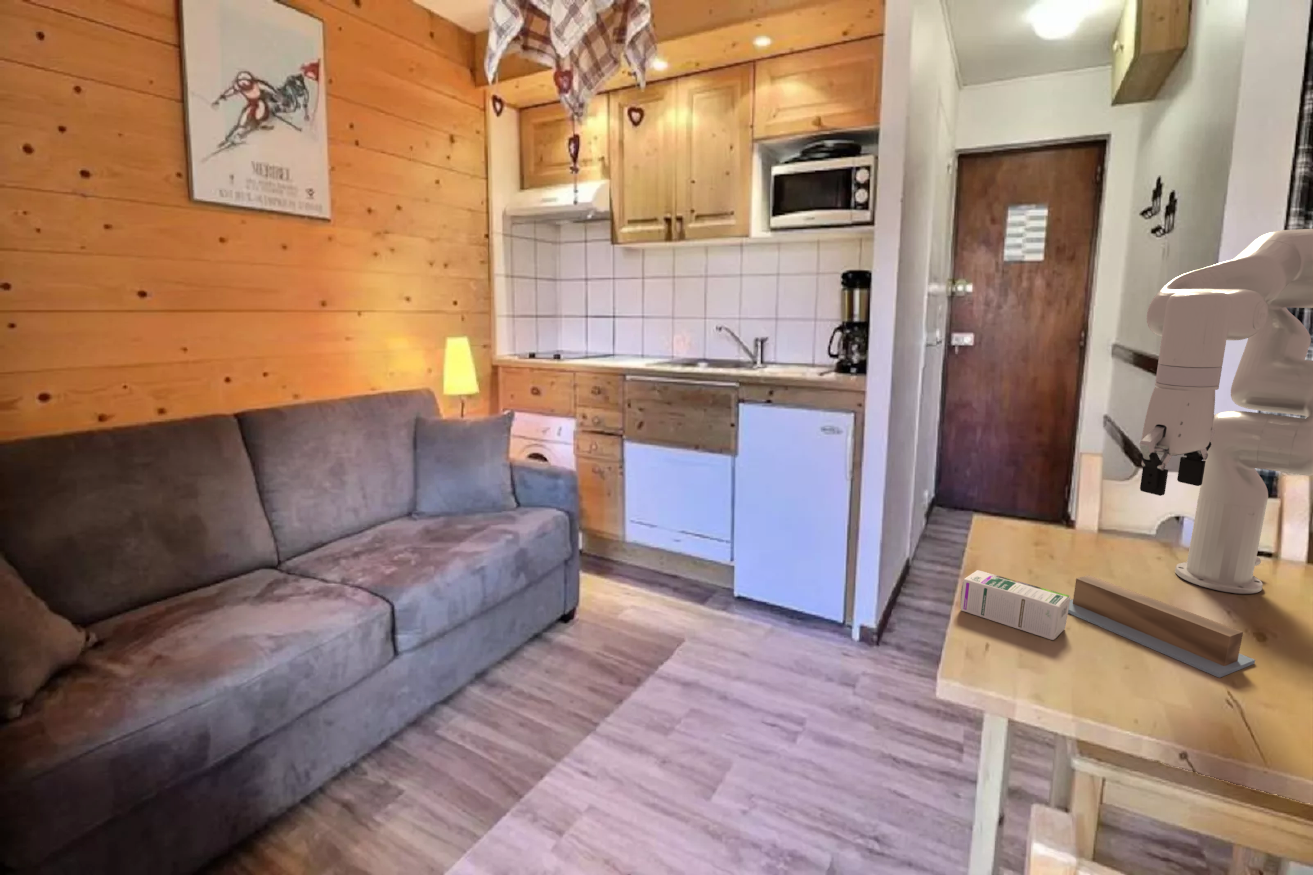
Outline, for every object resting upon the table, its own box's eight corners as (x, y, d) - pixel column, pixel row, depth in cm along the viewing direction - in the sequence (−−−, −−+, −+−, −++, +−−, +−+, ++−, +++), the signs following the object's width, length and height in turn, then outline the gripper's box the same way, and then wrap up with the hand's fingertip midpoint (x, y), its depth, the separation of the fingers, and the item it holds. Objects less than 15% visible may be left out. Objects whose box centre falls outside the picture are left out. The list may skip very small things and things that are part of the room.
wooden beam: (1085, 600, 117) (1089, 575, 116) (1237, 661, 97) (1243, 631, 97) (1072, 603, 115) (1076, 578, 115) (1224, 666, 96) (1229, 636, 95)
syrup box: (1059, 606, 103) (962, 576, 113) (1054, 642, 104) (958, 609, 114) (1071, 595, 106) (976, 567, 117) (1065, 630, 108) (972, 599, 118)
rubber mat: (1088, 597, 119) (1089, 594, 119) (1254, 663, 98) (1255, 659, 98) (1054, 607, 115) (1055, 603, 115) (1219, 677, 94) (1220, 673, 94)
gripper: (1192, 370, 108) (1176, 474, 112) (1125, 379, 101) (1110, 490, 105) (1249, 375, 102) (1230, 486, 105) (1182, 385, 94) (1164, 504, 98)
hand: (1170, 488), depth 105 cm, fingers open, 9 cm apart
